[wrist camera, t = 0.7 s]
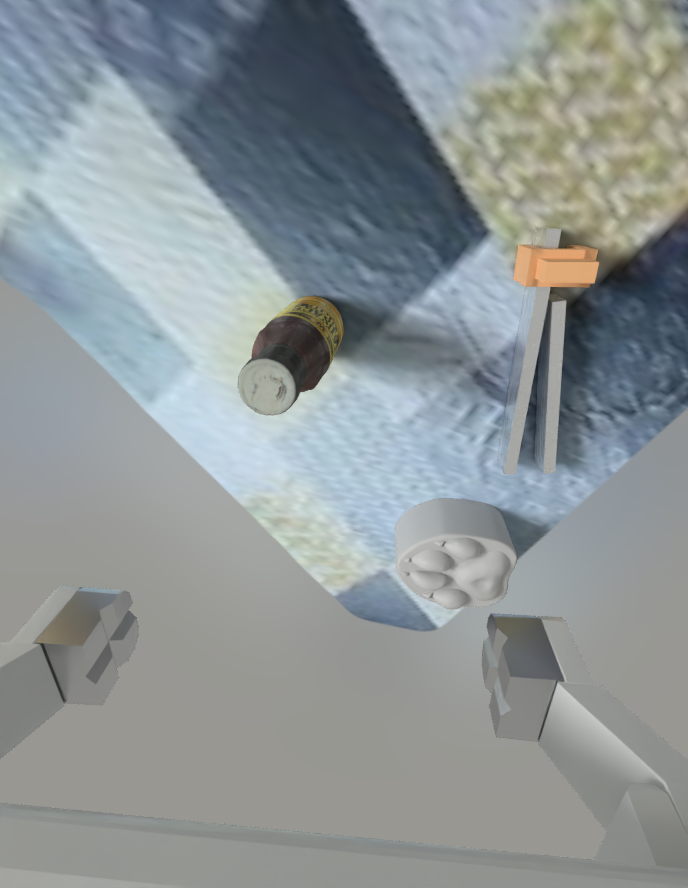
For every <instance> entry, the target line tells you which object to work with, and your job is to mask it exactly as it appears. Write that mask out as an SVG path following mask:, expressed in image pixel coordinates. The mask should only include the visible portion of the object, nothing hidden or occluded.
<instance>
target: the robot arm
mask: <svg viewBox="0 0 688 888" xmlns="http://www.w3.org/2000/svg"><path fill="white" fill-rule="evenodd" d="M132 604H133V602H132V599H131V596H130V593H129V592H127V591H123V590H112V589H101V588H90V587H74V586H61V587H59V588H57V589H56V590H55V591H54V592H53V593H52V594H51V595H50V597H49V598H48V599H47V600H46V601H45V602H44V603H43V605H42V606H41V607H40V608H39V609H38V610H37V612H36V613H35V614H34V615H33V616H32V617H31V618H30V619H29V621H28V622H27V623H26V624H25V625H24V626H23V628H22V629H21V630H20V631H19V632H18V633H17V634H16V636H15V637H14V638H13V639H12V640H11V641H10V642H2V643H0V759H1V758H2V757H3V756H4V755H6V754H7V753H8V752H9V751H10V750H12V749H13V748H14V747H15V746H17V745H18V744H19V743H20V742H21V741H23V740H24V739H25V738H26V737H27V736H29V735H30V734H31V733H32V732H34V731H35V730H36V729H37V728H38V727H40V726H41V725H42V724H43V723H44V722H45V721H46V720H48V719H49V718H50V717H52V716H53V715H54V714H55V713H56V712H57V711H59V710H60V709H61V708H62V707H64V704H65V703H66V704H85V705H103V704H104V702H105V701H106V699H107V697H108V695H109V693H110V692H111V690H112V688H113V687H114V685H115V683H116V682H117V680H118V678H119V677H118V672H117V668H118V667H120V666H121V665H123V664H124V663H125V662H127V661H128V660H129V659H130V657H131V655H132V653H133V651H134V649H135V646H136V643H137V639H138V627H139V626H138V621H137V618H136V617H135V616H134V615H133V614H132V613H131V612H130V611H129V608H130V607H131V605H132ZM487 630H488V634H489V637H488V638H487V639H486V640H484V643H483V649H482V670H483V678H484V683H485V687H486V688H487V689H488V690H489V691H490V692H491V693H492V695H491V700H490V705H489V707H490V712H491V717H492V721H493V726H494V730H495V735H496V737H499V738H508V739H517V740H526V741H536V742H539V745H540V747H541V748H542V749H543V751H544V752H545V753H546V754H547V756H548V757H549V758H550V760H551V761H552V762H553V763H554V765H555V766H556V767H557V769H558V770H559V771H560V773H561V774H562V775H563V776H564V778H565V779H566V780H567V781H568V783H569V784H570V785H571V787H572V788H573V789H574V790H575V792H576V793H577V794H578V796H579V797H580V798H581V799H582V801H583V802H584V803H585V805H586V806H587V807H588V809H589V810H590V811H591V812H592V814H593V815H594V816H595V818H597V820H598V821H599V823H600V824H601V825H602V827H603V828H604V829H605V830H606V834H605V836H604V838H603V840H602V843H601V845H600V847H599V849H598V851H597V853H596V855H595V857H594V859H593V860H590V859H579V858H569V857H559V856H548V855H537V854H527V853H517V852H507V851H496V850H486V849H475V848H465V847H454V846H444V845H434V844H423V843H413V842H403V841H392V840H382V839H372V838H361V837H351V836H341V835H330V834H321V833H310V832H299V831H289V830H278V829H269V828H258V827H247V826H237V825H227V824H216V823H206V822H194V821H185V820H174V819H164V818H153V817H143V816H132V815H122V814H112V813H102V812H91V811H81V810H69V809H59V808H50V807H38V806H28V805H18V804H8V803H0V888H688V759H687V758H686V757H684V756H683V755H682V754H681V753H680V752H679V751H677V750H676V749H675V748H674V747H673V746H672V745H670V744H669V743H668V742H667V741H666V740H665V739H664V738H662V737H661V736H660V735H659V734H658V733H657V732H655V731H654V730H653V729H652V728H651V727H650V726H648V725H647V724H646V723H645V722H644V721H643V720H642V719H640V718H639V717H638V716H637V715H636V714H635V713H633V712H632V711H631V710H630V709H629V708H628V707H626V706H625V705H624V704H623V703H622V702H621V701H619V700H618V699H617V698H616V697H615V696H614V695H613V694H611V693H610V692H609V691H608V690H607V689H605V688H604V687H603V686H602V685H597V684H593V681H592V679H591V677H590V675H589V672H588V670H587V668H586V665H585V663H584V661H583V659H582V656H581V654H580V652H579V650H578V648H577V645H576V644H575V641H574V639H573V637H572V634H571V632H570V630H569V627H568V625H567V623H566V621H565V620H564V619H563V618H562V617H548V616H537V617H536V616H528V615H511V614H490V616H489V617H488V622H487Z"/></svg>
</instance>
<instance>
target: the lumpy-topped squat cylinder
mask: <svg viewBox="0 0 688 888" xmlns="http://www.w3.org/2000/svg"><path fill="white" fill-rule="evenodd" d="M395 544H396V568H397V572H398V575H399V577H400V578H401V580H402V581H403V582H404V584H405V585H406V586H407V587H408V588H409V589H410V590H412V591H413V592H415V593H416V594H418V595H420V596H421V597H423V598H425V599H427V600H429V601H432V602H437V603H438V604H439V605H441V606H442V607H444V608H447V609H458V608H460V607H462V606H467V607H487V606H491V605H493V604H495V603H497V602H499V601H500V600H502V599H503V597H504V596H505V595H506V592H507V588H508V579H509V576H510V574H511V572H512V571H513V569H514V567H515V565H516V563H517V554H516V551H515V548H514V545H513V543H512V540H511V537H510V535H509V532H508V529H507V526H506V524H505V521H504V518H503V516H502V514H501V512H500V511H499V510H498V509H496V508H495V507H493V506H491V505H489V504H486V503H481V502H476V501H471V500H464V499H454V498H438V499H433V500H430V501H427V502H424V503H421V504H418V505H416V506H414V507H412V508H410V509H409V510H408V511H406V512H405V513H404V514H403V515H402V516H401V517H400V518H399V519H398V521H397V523H396V526H395Z"/></svg>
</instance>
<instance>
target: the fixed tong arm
mask: <svg viewBox="0 0 688 888" xmlns="http://www.w3.org/2000/svg"><path fill="white" fill-rule="evenodd" d="M561 230H562V229H558V228H553V227H535V230H534V236H533V242H532V246H535V247H538V248H541V249H558V246H559V240H560V235H561ZM550 288H551V287H525V291H524V297H523V303H522V309H521V315H520V321H519V327H518V333H517V339H516V345H515V351H514V357H513V363H512V369H511V375H510V381H509V387H508V394H507V400H506V406H505V412H504V418H503V424H502V430H501V436H500V442H499V448H498V454H497V459H498V461H499V464H500V466H501V468H502V471H503V473H504V474H515V473H516V468H517V462H518V457H519V452H520V447H521V441H522V436H523V431H524V425H525V420H526V415H527V410H528V404H529V399H530V394H531V388H532V383H533V378H534V373H535V367H536V362H537V357H538V351H539V346H540V341H541V336H542V330H543V325H544V320H545V314H546V309H547V304H548V298H549V293H550Z"/></svg>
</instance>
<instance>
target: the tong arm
mask: <svg viewBox="0 0 688 888" xmlns="http://www.w3.org/2000/svg"><path fill="white" fill-rule="evenodd" d="M565 314H566V300H565V299H563V298H561V297H559V296H558V295H556V294H549V298H548V304H547V309H546V314H545V320H544V325H543V330H542V336H541V341H540V346H539V357H538V381H537V405H536V429H535V453H534V458H535V460H536V462H537V463H538V465H539V467H540V469H541V470H542V472H543V474H547V473H555V467H556V452H557V437H558V421H559V406H560V391H561V375H562V360H563V345H564V329H565Z"/></svg>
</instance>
